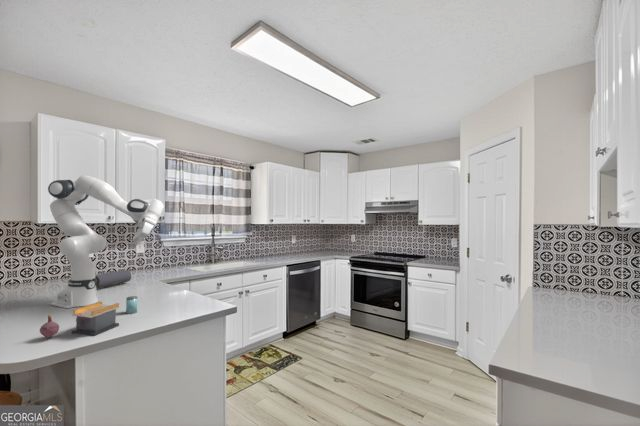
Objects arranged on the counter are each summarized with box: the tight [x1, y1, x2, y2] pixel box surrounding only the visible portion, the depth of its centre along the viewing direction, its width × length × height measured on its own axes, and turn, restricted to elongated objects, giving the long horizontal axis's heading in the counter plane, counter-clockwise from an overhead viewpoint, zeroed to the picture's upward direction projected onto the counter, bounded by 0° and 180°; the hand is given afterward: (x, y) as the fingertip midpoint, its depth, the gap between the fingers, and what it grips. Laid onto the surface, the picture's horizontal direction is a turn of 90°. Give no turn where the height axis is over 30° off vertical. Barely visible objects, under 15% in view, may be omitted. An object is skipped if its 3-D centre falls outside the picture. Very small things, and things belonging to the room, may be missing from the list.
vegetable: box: [39, 314, 60, 339], centre depth 123 cm, size 6×6×10 cm
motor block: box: [71, 300, 120, 337], centre depth 134 cm, size 14×14×10 cm
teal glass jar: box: [125, 295, 139, 315], centre depth 157 cm, size 5×5×8 cm
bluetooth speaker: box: [95, 269, 132, 289], centre depth 209 cm, size 23×9×10 cm, turn 160°
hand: (135, 245), depth 165 cm, fingers open, 8 cm apart
